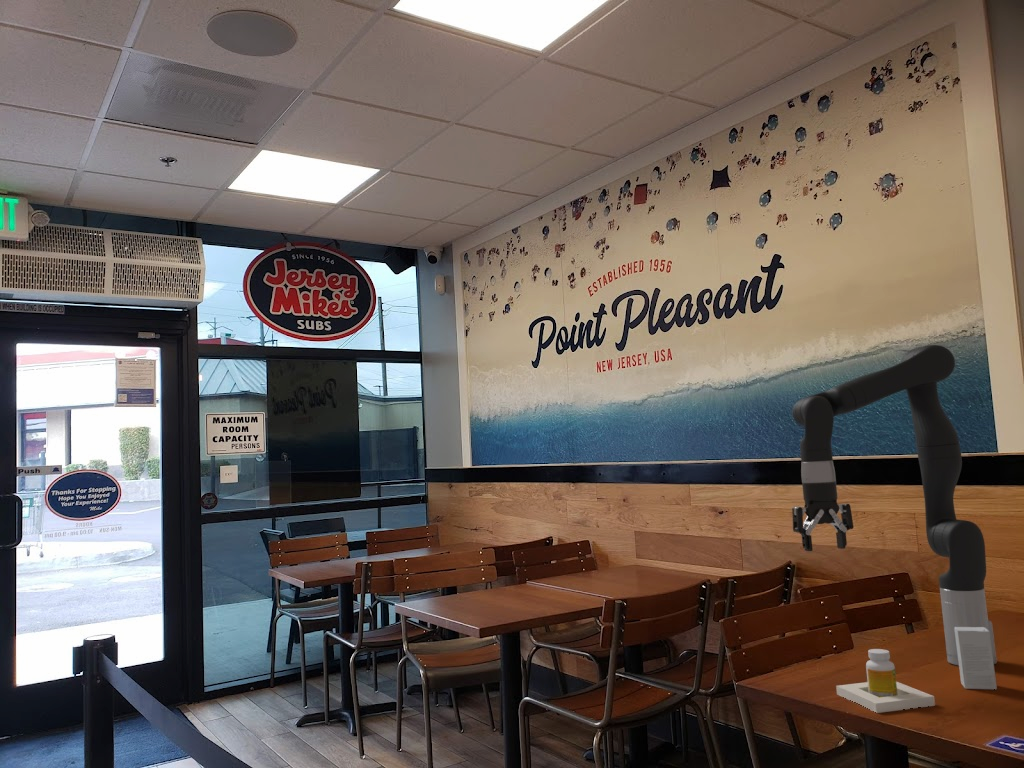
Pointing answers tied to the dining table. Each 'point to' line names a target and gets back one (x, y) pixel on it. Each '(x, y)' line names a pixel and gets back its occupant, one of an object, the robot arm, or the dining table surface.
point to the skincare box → (975, 658)
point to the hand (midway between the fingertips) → (825, 549)
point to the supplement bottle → (881, 674)
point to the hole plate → (903, 700)
